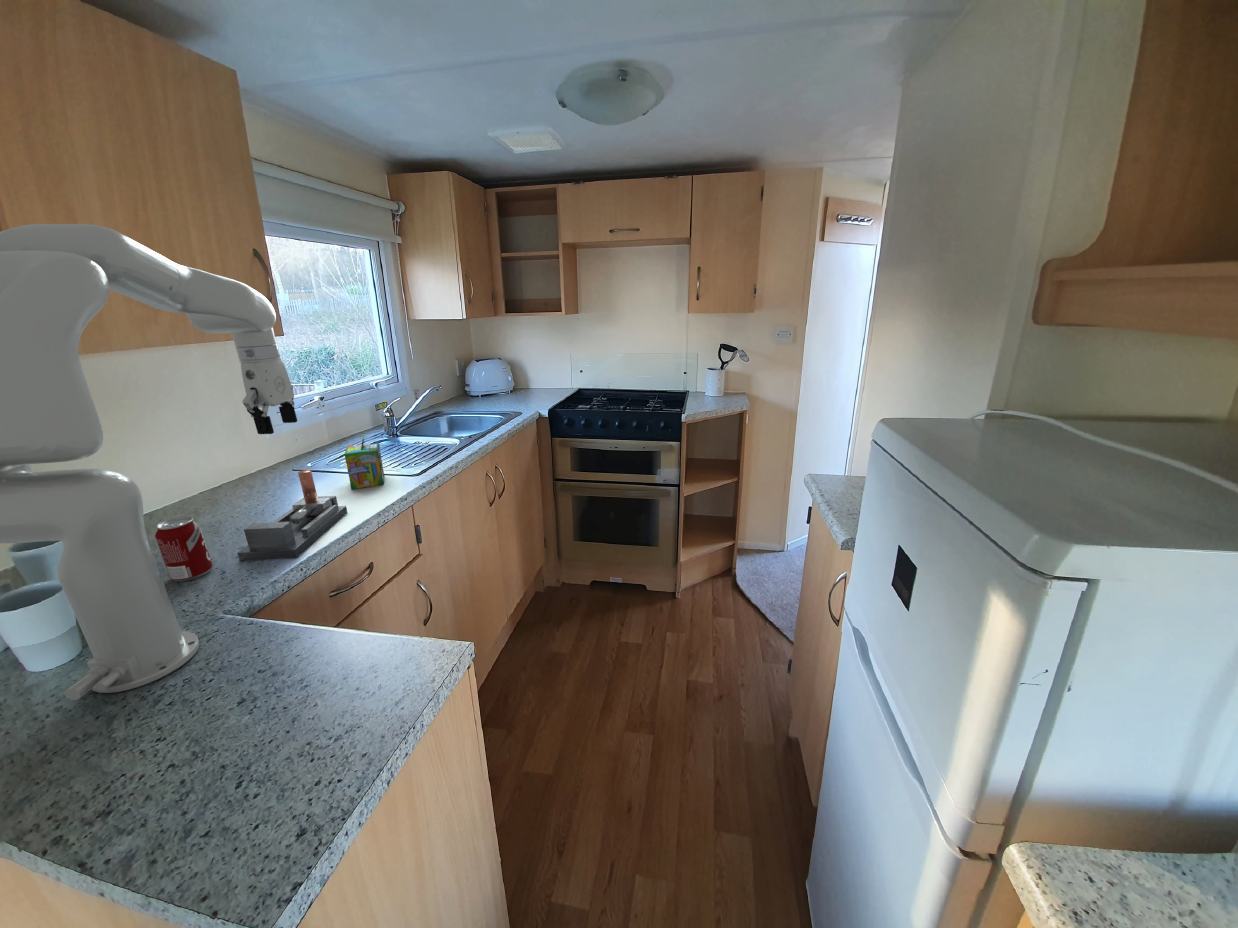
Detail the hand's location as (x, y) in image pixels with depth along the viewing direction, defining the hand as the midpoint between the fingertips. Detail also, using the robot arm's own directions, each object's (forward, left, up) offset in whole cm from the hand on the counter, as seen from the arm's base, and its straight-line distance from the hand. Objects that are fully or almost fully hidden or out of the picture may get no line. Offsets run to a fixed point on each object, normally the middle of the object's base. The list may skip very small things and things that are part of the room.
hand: (278, 427), depth 113 cm
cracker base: (-5, -2, -25) cm, 26 cm away
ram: (0, -2, -23) cm, 23 cm away
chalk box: (+30, -4, -26) cm, 39 cm away
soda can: (-22, +10, -26) cm, 35 cm away
